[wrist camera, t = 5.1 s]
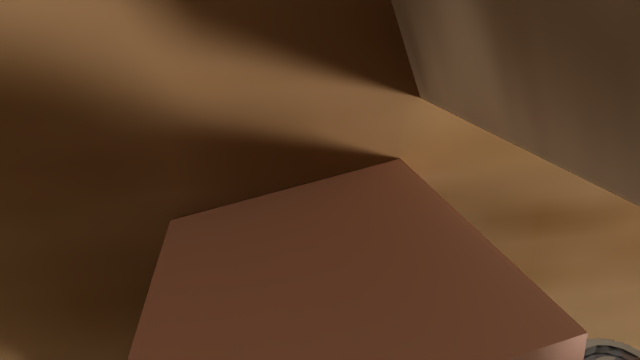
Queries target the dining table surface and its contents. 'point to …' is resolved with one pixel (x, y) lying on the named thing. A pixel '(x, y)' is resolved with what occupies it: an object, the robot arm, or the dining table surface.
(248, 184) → the dining table surface
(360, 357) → the terracotta block
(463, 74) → the beech block
